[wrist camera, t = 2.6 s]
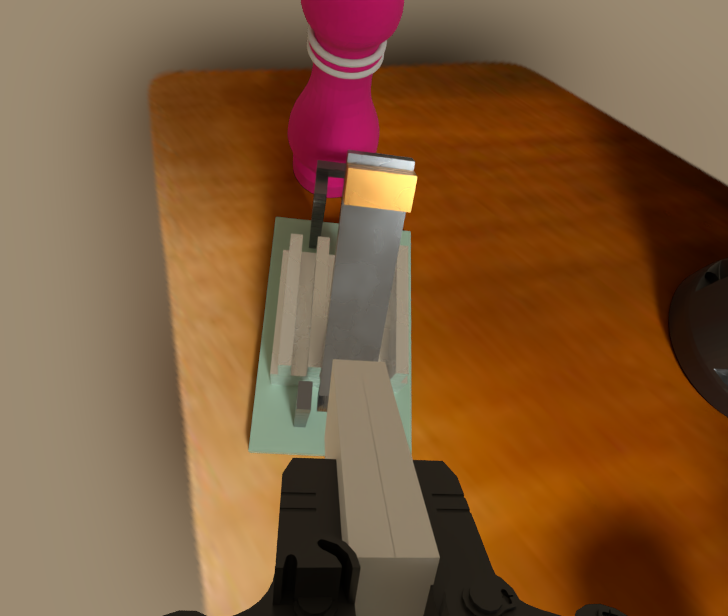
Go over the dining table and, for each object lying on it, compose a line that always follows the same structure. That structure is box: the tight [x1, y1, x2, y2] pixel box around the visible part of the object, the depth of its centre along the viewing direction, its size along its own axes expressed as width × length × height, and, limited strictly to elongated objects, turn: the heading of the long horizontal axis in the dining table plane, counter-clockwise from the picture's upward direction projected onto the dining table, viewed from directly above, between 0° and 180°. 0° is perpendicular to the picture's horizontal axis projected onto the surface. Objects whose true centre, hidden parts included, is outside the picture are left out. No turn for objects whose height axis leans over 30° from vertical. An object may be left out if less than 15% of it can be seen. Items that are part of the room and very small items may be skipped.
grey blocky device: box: [270, 160, 409, 428], centre depth 33 cm, size 16×9×8 cm, turn 178°
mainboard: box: [249, 217, 411, 456], centre depth 37 cm, size 18×11×1 cm, turn 178°
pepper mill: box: [288, 0, 404, 198], centre depth 34 cm, size 7×7×20 cm
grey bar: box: [317, 150, 417, 412], centre depth 25 cm, size 15×3×2 cm
